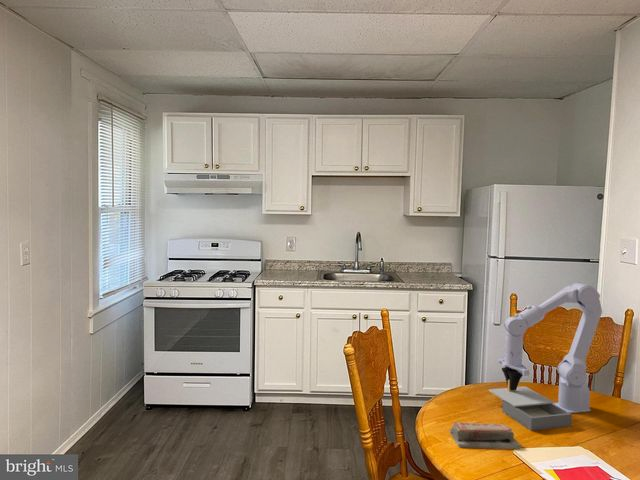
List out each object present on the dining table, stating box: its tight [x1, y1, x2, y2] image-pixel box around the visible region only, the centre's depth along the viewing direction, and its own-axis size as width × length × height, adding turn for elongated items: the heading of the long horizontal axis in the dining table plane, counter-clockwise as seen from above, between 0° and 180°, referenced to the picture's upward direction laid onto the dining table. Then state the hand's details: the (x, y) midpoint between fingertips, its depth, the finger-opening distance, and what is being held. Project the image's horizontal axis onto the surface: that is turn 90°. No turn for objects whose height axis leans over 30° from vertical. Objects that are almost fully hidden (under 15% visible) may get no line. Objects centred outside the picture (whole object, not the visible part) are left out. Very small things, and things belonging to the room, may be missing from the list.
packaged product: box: [449, 421, 521, 450], centre depth 140 cm, size 18×5×10 cm
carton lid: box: [488, 379, 555, 407], centre depth 163 cm, size 15×14×4 cm
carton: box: [501, 399, 573, 432], centre depth 155 cm, size 15×14×4 cm
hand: (511, 388), depth 167 cm, fingers closed, pressing on carton lid
